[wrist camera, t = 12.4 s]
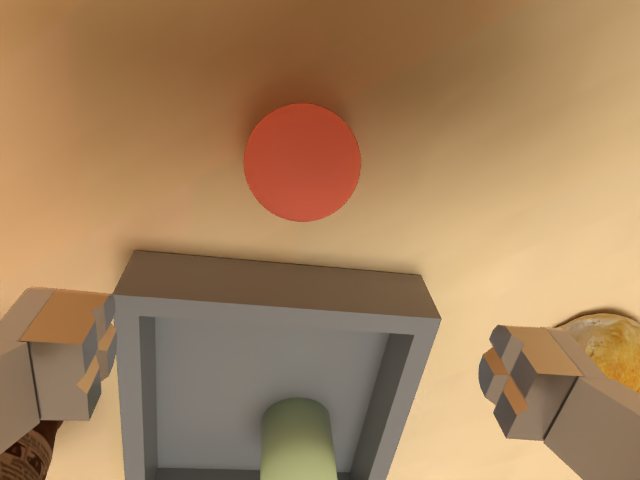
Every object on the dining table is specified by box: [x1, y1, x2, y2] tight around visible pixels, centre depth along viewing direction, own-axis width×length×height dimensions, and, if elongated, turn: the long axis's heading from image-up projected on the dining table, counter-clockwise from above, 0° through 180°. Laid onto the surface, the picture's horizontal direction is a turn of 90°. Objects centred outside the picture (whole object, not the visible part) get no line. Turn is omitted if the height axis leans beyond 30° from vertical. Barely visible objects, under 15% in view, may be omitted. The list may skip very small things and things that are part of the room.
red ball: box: [244, 103, 361, 222], centre depth 18 cm, size 4×4×4 cm
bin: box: [112, 250, 441, 480], centre depth 26 cm, size 16×14×4 cm
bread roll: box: [557, 313, 640, 394], centre depth 27 cm, size 8×9×4 cm
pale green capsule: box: [260, 398, 337, 480], centre depth 26 cm, size 4×4×5 cm
